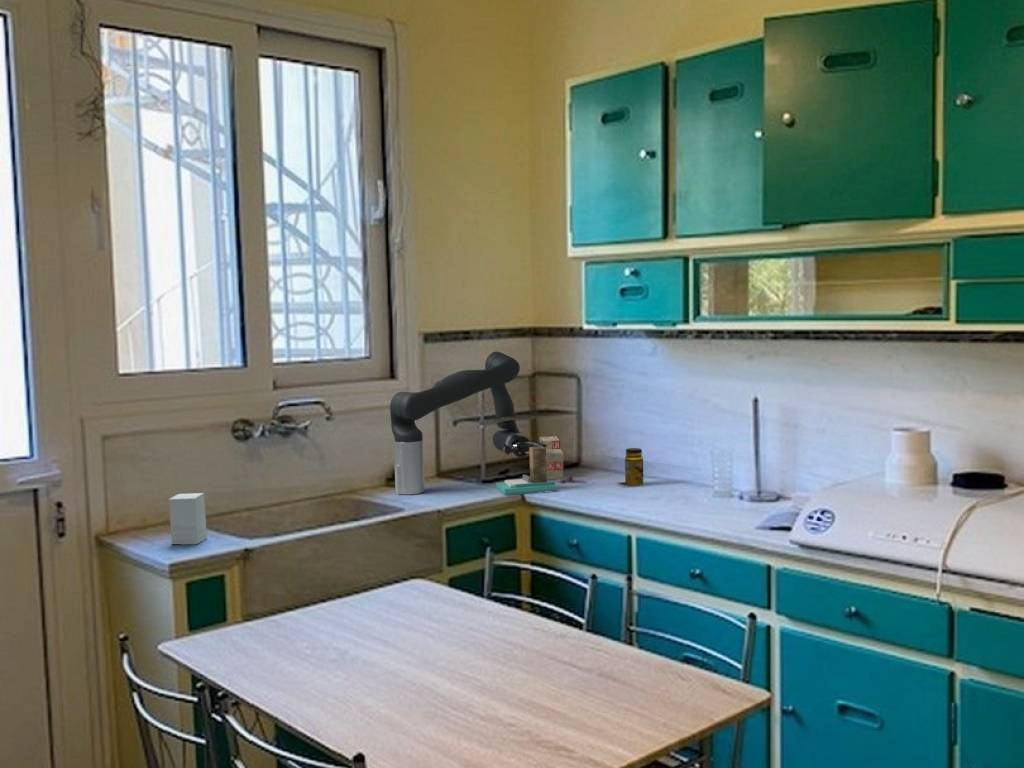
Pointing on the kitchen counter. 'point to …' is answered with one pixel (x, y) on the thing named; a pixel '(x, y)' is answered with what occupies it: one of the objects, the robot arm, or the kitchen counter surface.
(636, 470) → the condiment
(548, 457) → the white printed carton
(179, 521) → the supplement box
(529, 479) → the sliding lid
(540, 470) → the walnut post
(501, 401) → the robot arm
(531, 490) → the puzzle board
